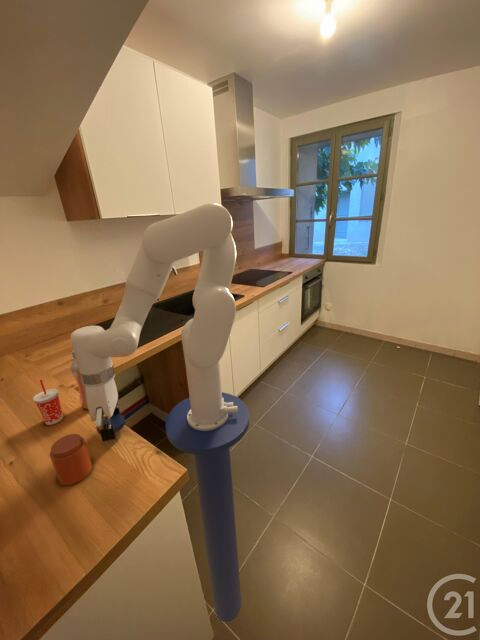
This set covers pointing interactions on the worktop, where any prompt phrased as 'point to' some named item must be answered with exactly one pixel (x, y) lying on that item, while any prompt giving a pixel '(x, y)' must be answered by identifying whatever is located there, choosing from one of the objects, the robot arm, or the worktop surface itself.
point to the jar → (70, 459)
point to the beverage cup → (49, 405)
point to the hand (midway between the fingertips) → (112, 429)
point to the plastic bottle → (79, 382)
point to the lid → (115, 422)
